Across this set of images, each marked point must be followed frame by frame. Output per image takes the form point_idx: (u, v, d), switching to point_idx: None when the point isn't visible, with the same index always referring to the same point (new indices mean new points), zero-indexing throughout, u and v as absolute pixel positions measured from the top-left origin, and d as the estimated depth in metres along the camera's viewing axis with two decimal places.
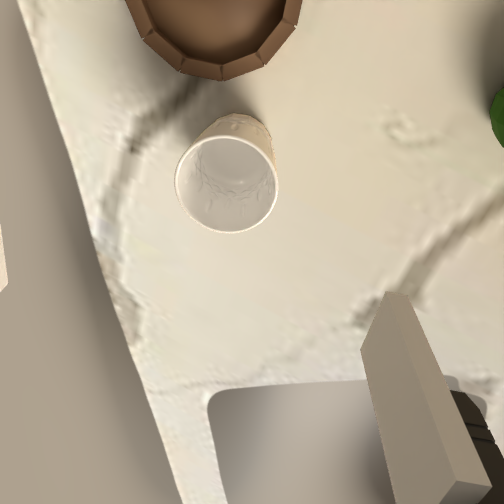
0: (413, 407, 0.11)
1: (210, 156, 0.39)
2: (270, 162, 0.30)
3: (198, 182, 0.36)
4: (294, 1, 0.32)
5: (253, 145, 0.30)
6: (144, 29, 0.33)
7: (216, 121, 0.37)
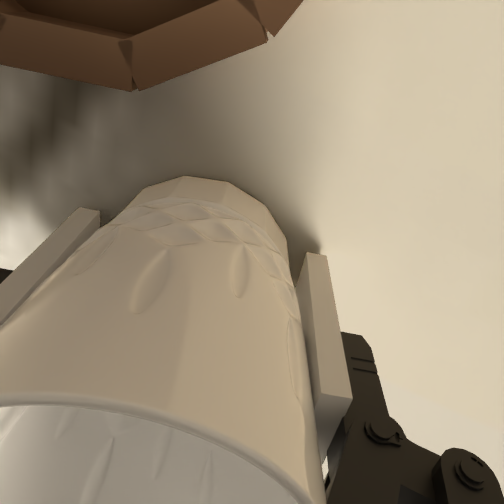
0: (308, 344, 0.12)
1: None
2: (302, 495, 0.06)
3: None
4: None
5: (216, 439, 0.06)
6: None
7: (130, 205, 0.13)
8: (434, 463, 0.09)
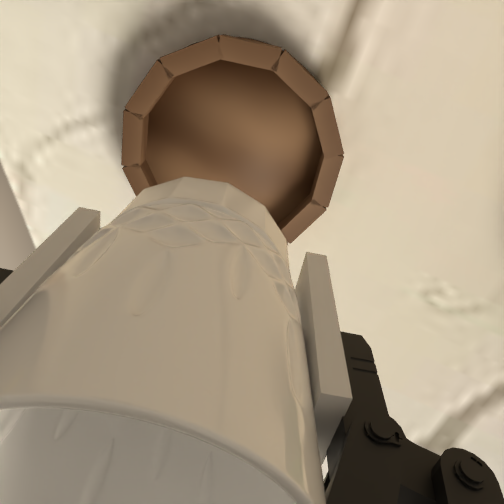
0: (308, 344, 0.12)
1: None
2: (302, 497, 0.06)
3: None
4: (326, 184, 0.27)
5: (215, 441, 0.06)
6: None
7: (130, 206, 0.13)
8: (434, 463, 0.09)
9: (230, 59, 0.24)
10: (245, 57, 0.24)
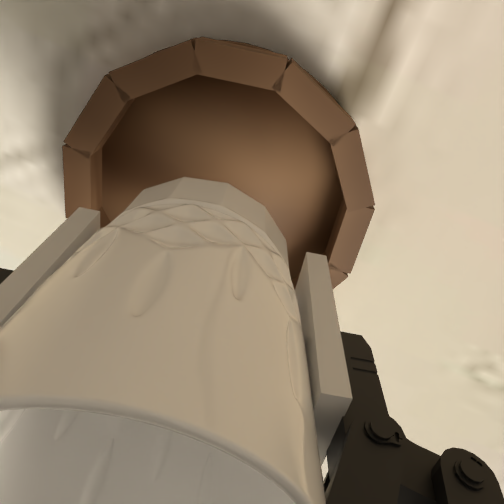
0: (308, 344, 0.12)
1: None
2: (302, 498, 0.06)
3: None
4: (348, 244, 0.20)
5: (215, 442, 0.06)
6: None
7: (130, 207, 0.13)
8: (434, 463, 0.09)
9: (212, 74, 0.16)
10: (234, 71, 0.16)
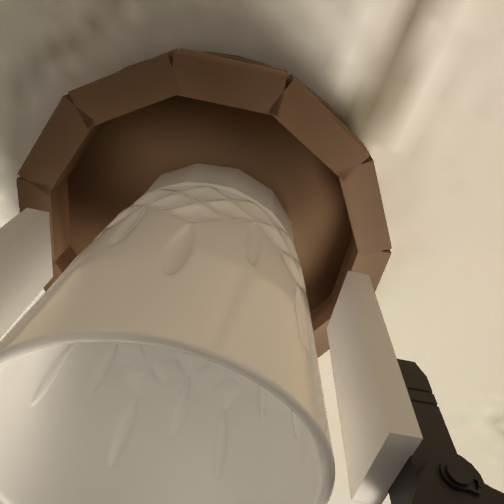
0: (362, 373, 0.11)
1: None
2: (310, 419, 0.08)
3: (101, 356, 0.14)
4: None
5: (240, 369, 0.07)
6: None
7: (150, 190, 0.14)
8: None
9: (194, 95, 0.13)
10: (221, 91, 0.13)
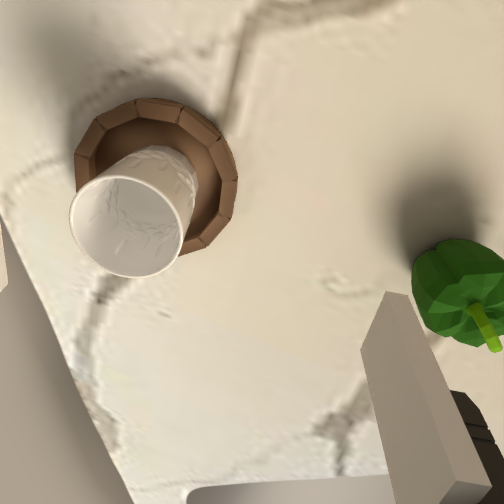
0: (413, 407, 0.11)
1: (129, 191, 0.36)
2: (169, 202, 0.28)
3: (112, 221, 0.34)
4: (227, 201, 0.36)
5: (147, 184, 0.27)
6: None
7: None
8: None
9: (145, 116, 0.33)
10: (155, 114, 0.33)
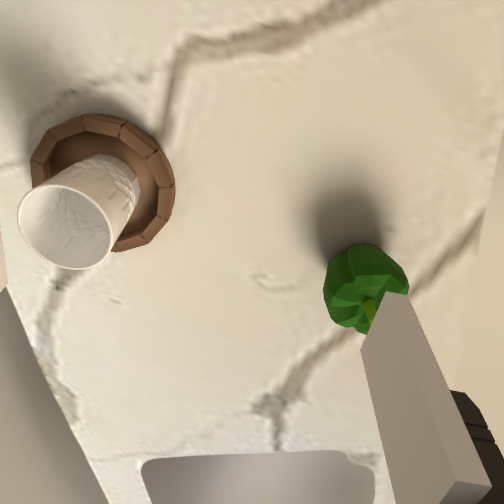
0: (413, 407, 0.11)
1: (78, 193, 0.41)
2: (100, 207, 0.33)
3: (60, 220, 0.39)
4: (164, 205, 0.42)
5: (81, 193, 0.33)
6: None
7: None
8: None
9: (91, 130, 0.39)
10: (99, 129, 0.39)
